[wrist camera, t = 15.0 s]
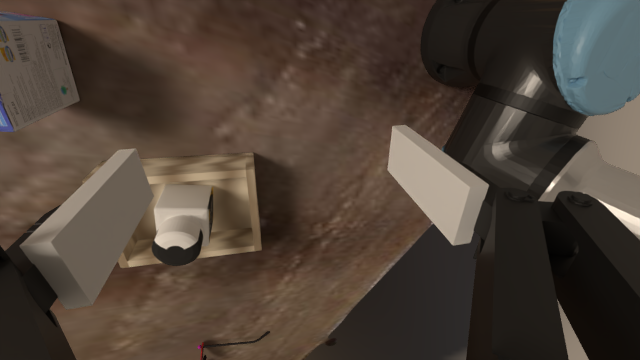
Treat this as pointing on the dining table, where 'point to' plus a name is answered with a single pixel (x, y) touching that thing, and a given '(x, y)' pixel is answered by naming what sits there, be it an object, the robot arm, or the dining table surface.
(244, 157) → the birch box
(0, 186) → the dining table surface
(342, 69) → the dining table surface
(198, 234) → the medicine bottle
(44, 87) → the ink cartridge box
